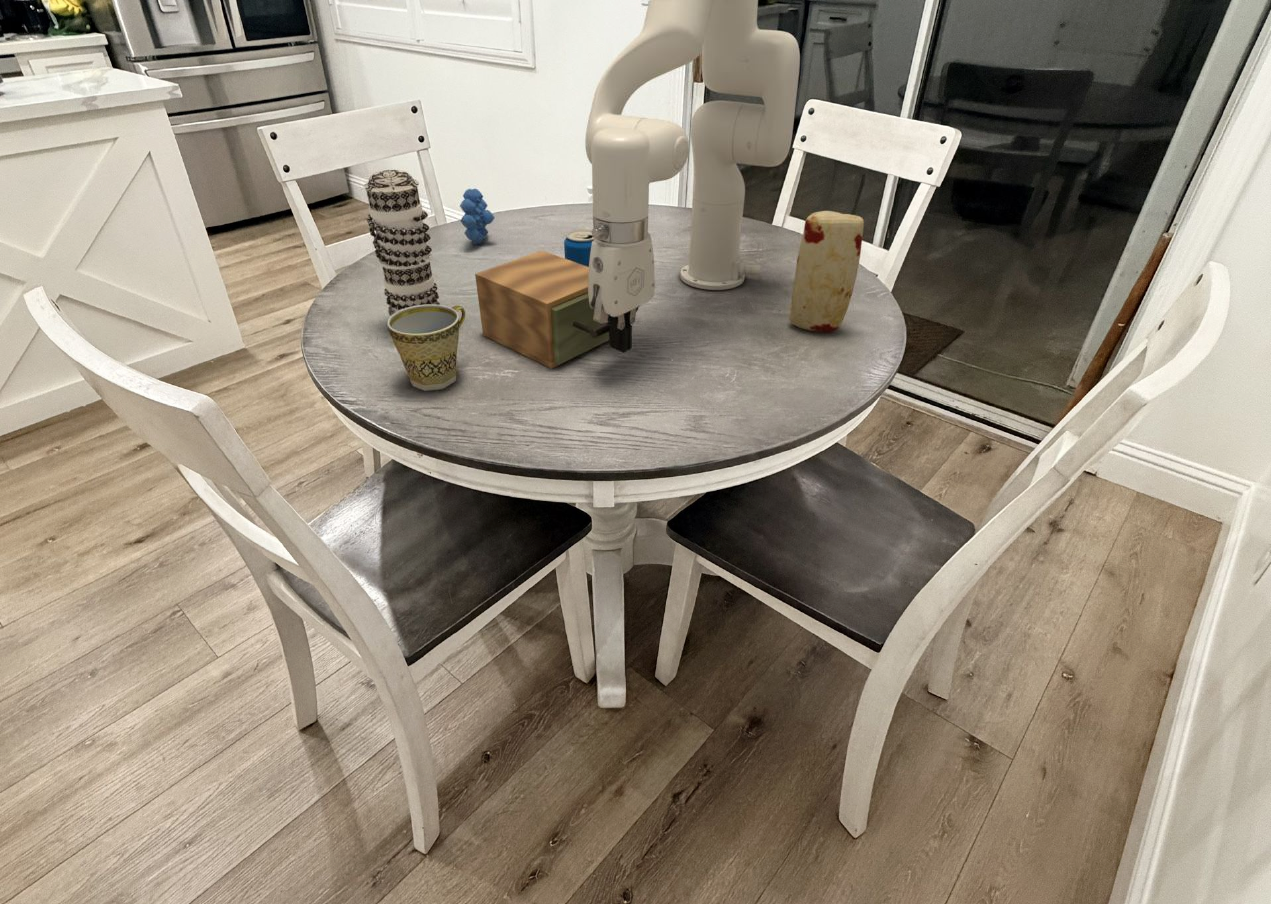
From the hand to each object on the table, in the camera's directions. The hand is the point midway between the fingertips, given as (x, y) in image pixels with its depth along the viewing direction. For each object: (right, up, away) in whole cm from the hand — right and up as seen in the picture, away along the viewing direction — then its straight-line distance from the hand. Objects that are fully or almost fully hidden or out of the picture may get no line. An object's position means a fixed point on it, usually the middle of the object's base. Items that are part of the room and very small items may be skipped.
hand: (620, 348), depth 107 cm
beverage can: (-7, +12, +23) cm, 27 cm away
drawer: (-9, +3, +8) cm, 12 cm away
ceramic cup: (-27, -4, 0) cm, 28 cm away
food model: (+33, +5, +14) cm, 37 cm away
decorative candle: (-35, +6, +14) cm, 38 cm away
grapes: (-31, +29, +46) cm, 63 cm away
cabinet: (-12, +4, +11) cm, 17 cm away
